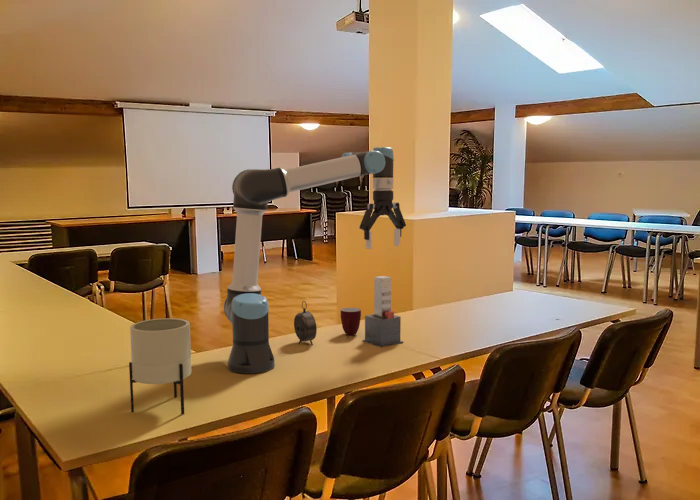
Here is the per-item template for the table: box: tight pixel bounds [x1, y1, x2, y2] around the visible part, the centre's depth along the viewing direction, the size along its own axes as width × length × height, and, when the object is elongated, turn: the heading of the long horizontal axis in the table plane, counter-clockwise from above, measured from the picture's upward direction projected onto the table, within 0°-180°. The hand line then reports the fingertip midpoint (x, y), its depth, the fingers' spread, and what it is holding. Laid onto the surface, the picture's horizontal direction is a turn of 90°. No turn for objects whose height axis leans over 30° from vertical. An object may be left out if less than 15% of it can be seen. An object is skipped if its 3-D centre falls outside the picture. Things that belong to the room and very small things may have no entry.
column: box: [373, 275, 392, 319], centre depth 229 cm, size 4×5×24 cm
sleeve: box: [361, 310, 404, 348], centre depth 230 cm, size 11×11×12 cm
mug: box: [340, 307, 362, 337], centre depth 241 cm, size 10×8×10 cm
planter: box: [128, 317, 192, 415], centre depth 164 cm, size 15×16×23 cm
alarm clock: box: [293, 300, 318, 346], centre depth 229 cm, size 11×5×16 cm, turn 31°
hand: (383, 247), depth 227 cm, fingers open, 13 cm apart
